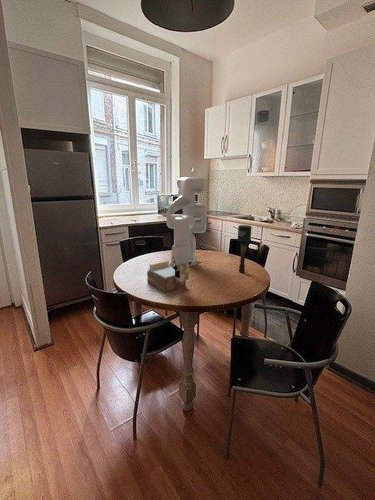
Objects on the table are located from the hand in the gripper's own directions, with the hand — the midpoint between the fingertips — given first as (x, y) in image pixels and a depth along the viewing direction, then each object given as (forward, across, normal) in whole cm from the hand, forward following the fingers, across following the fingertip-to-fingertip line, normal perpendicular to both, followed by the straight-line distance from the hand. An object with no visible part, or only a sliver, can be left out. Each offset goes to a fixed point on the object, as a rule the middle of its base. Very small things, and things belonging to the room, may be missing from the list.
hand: (181, 275), depth 130 cm
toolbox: (+9, +1, -13) cm, 16 cm away
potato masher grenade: (+11, -48, +2) cm, 49 cm away
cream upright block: (+2, 0, 0) cm, 2 cm away
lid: (+2, +1, -13) cm, 13 cm away
